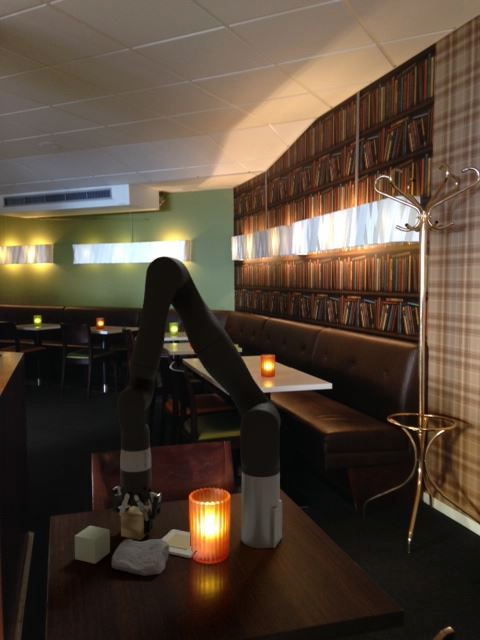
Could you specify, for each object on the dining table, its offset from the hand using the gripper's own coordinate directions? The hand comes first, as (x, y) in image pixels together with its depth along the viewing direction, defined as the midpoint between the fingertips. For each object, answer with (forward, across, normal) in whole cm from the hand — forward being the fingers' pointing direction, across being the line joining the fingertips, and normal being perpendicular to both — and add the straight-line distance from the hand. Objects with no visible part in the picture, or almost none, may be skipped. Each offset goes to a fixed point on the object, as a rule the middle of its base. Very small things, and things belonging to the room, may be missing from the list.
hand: (136, 530), depth 132 cm
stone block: (+1, -9, +12) cm, 15 cm away
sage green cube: (+1, +4, +13) cm, 13 cm away
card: (+1, -13, +1) cm, 13 cm away
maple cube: (+1, 0, 0) cm, 1 cm away
